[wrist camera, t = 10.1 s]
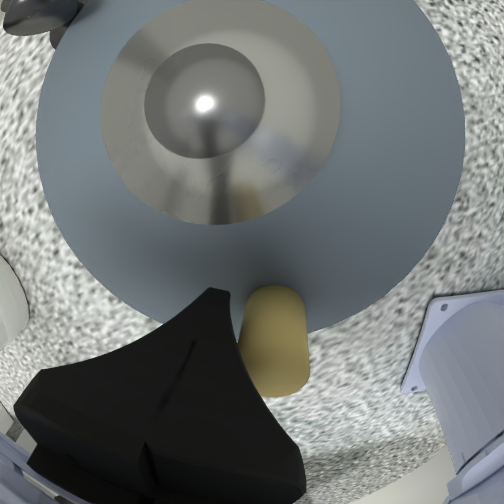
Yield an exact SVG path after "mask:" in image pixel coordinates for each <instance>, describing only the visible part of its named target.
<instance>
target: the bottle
mask: <svg viewBox="0 0 504 504" xmlns="http://www.w3.org/2000/svg"><path fill="white" fill-rule="evenodd" d="M28 320H29V310H28V303H27V300H26V297H25V293H24V291H23V289H22V286H21V284H20V282H19V280H18V278H17V276H16V275H15V273H14V272H13V270H12V268H11V267H10V265H9V264H8V263H7V262H6V261H5V260H4V258H3V257H2V256H1V255H0V352H1V351H2V350H3V349H4V348H5V347H6V346H7V345H9V344H10V343H11V342H12V341H13V340H14V339H15V338H16V337H17V336H18V335H19V332H20V331H21V330H22V329H23V328H24V327H25V326H27V323H28Z"/></svg>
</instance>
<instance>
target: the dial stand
mask: <svg viewBox="0 0 504 504" xmlns="http://www.w3.org/2000/svg"><path fill="white" fill-rule="evenodd" d="M88 1H89V0H3V1H2V4H1V10H2V11H3V12H6V13H5V18H4V22H3V28H4V30H5V31H6V32H7V33H9V34H11V35H16V36H29V35H36V34H40V33H44V32H48V31H50V42H51V45H52V46H53V48H54V49H55V50H56V48H57V46H58V45H59V43H60V41H61V39H62V37H63V36H64V34H65V32H66V30H67V29H68V27H69V26H70V24H71V23H72V21H73V20H74V19H75V17H76V16H77V15H78V13H79V12H80V11H81V9H82V8H83V7H84V6H85V4H86V3H87V2H88Z"/></svg>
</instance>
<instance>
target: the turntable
mask: <svg viewBox="0 0 504 504" xmlns="http://www.w3.org/2000/svg"><path fill="white" fill-rule="evenodd" d="M187 1H191V0H89V1H88V2H87V3H86V4H85V6H84V7H83V8H82V9H81V11H80V12H79V13H78V15H77V16H76V17H75V19H74V20H73V21H72V23H71V24H70V26H69V27H68V29H67V30H66V32H65V34H64V36H63V37H62V39H61V41H60V43H59V45H58V46H57V48H56V50H55V53H54V55H53V57H52V60H51V62H50V65H49V67H48V70H47V72H46V76H45V79H44V83H43V86H42V90H41V94H40V99H39V105H38V113H37V121H36V151H37V160H38V169H39V174H40V178H41V182H42V187H43V191H44V194H45V197H46V200H47V203H48V205H49V208H50V211H51V213H52V216H53V218H54V220H55V222H56V224H57V226H58V228H59V230H60V232H61V234H62V236H63V237H64V239H65V241H66V242H67V244H68V245H69V247H70V248H71V250H72V251H73V252H74V254H75V255H76V257H77V258H78V259H79V261H80V262H81V263H82V264H83V265H84V266H85V268H86V269H87V270H88V271H89V272H90V273H91V274H92V276H93V277H94V278H96V279H97V280H98V281H99V282H100V283H101V284H102V285H103V286H104V287H105V288H106V289H108V290H109V291H110V292H111V293H112V294H114V295H115V296H116V297H118V298H119V299H120V300H122V301H123V302H125V303H126V304H127V305H129V306H130V307H132V308H133V309H135V310H137V311H139V312H141V313H142V314H144V315H146V316H148V317H150V318H152V319H154V320H156V321H158V322H161V323H163V324H164V323H166V322H167V321H169V320H170V319H171V318H173V317H174V316H176V315H177V314H178V313H179V312H181V311H182V310H183V309H184V308H186V307H187V306H188V305H189V304H190V303H192V302H193V301H194V300H195V299H196V298H197V297H198V296H199V295H201V294H202V293H203V292H204V291H205V290H206V289H207V288H209V287H213V288H217V289H221V290H226V291H229V292H230V294H231V298H230V313H231V320H232V325H233V330H234V334H235V338H236V340H237V341H238V343H237V345H238V348H239V351H240V354H241V357H242V359H243V362H244V364H245V367H246V369H247V371H248V373H249V375H250V378H251V380H252V382H253V384H254V386H255V387H256V389H257V391H258V392H259V394H260V396H263V397H282V396H286V395H290V394H292V393H295V392H296V391H298V390H300V389H301V388H302V387H303V386H304V385H305V384H306V383H307V381H308V379H309V376H310V364H309V351H308V339H307V333H310V332H313V331H316V330H319V329H322V328H325V327H328V326H331V325H334V324H336V323H338V322H340V321H342V320H344V319H346V318H348V317H350V316H352V315H354V314H356V313H358V312H360V311H362V310H363V309H365V308H366V307H368V306H370V305H371V304H373V303H374V302H376V301H377V300H379V299H380V298H381V297H383V296H384V295H385V294H387V293H388V292H389V291H390V290H391V289H392V288H394V287H395V286H396V285H397V284H398V283H399V282H400V281H402V280H403V279H404V278H405V277H406V276H407V275H408V274H409V272H410V271H411V270H412V269H413V268H414V267H415V266H416V264H417V263H418V262H419V261H420V260H421V259H422V257H423V256H424V255H425V253H426V252H427V251H428V249H429V248H430V246H431V244H432V243H433V241H434V240H435V238H436V237H437V235H438V234H439V232H440V230H441V228H442V226H443V224H444V222H445V220H446V218H447V215H448V213H449V211H450V209H451V207H452V204H453V201H454V198H455V195H456V191H457V188H458V185H459V181H460V177H461V172H462V165H463V158H464V151H465V117H464V110H463V103H462V97H461V92H460V87H459V84H458V80H457V77H456V74H455V71H454V68H453V65H452V62H451V59H450V57H449V55H448V53H447V51H446V49H445V47H444V45H443V43H442V41H441V39H440V37H439V35H438V33H437V32H436V30H435V29H434V27H433V26H432V24H431V23H430V21H429V20H428V18H427V17H426V16H425V14H424V13H423V11H422V10H421V9H420V8H419V6H418V5H417V4H416V3H415V2H414V1H413V0H261V1H264V2H267V3H270V4H273V5H275V6H277V7H279V8H281V9H283V10H285V11H287V12H289V13H290V14H292V15H293V16H294V17H296V18H297V19H299V20H300V21H301V22H302V23H304V24H305V25H306V26H307V27H308V28H309V29H310V30H311V31H312V32H313V33H314V34H315V36H316V37H317V38H318V39H319V41H320V42H321V43H322V45H323V46H324V48H325V50H326V51H327V53H328V55H329V57H330V59H331V61H332V64H333V66H334V69H335V72H336V75H337V79H338V84H339V88H340V102H341V107H340V119H339V125H338V129H337V133H336V137H335V140H334V143H333V145H332V148H331V150H330V153H329V155H328V156H327V158H326V160H325V162H324V164H323V165H322V167H321V168H320V170H319V171H318V172H317V174H316V175H315V176H314V178H313V179H312V180H311V181H310V182H309V183H308V184H307V185H306V186H305V187H304V188H303V190H302V191H301V192H299V193H298V194H297V195H296V196H294V197H293V198H292V199H291V200H289V201H288V202H287V203H285V204H283V205H282V206H280V207H278V208H277V209H275V210H273V211H271V212H269V213H267V214H264V215H262V216H260V217H257V218H254V219H251V220H247V221H244V222H239V223H233V224H227V225H203V224H194V223H189V222H185V221H180V220H177V219H175V218H172V217H169V216H166V215H164V214H162V213H160V212H158V211H156V210H154V209H153V208H151V207H150V206H148V205H147V204H145V203H144V202H143V201H141V200H140V199H139V198H138V197H137V196H136V195H135V194H133V193H132V192H131V191H130V189H129V188H128V187H127V186H126V185H125V184H124V183H123V181H122V180H121V178H120V177H119V176H118V174H117V173H116V171H115V169H114V167H113V165H112V163H111V161H110V159H109V157H108V154H107V151H106V148H105V145H104V141H103V136H102V131H101V118H100V115H101V101H102V95H103V90H104V86H105V83H106V80H107V77H108V74H109V72H110V70H111V67H112V65H113V63H114V61H115V60H116V58H117V56H118V55H119V53H120V51H121V50H122V48H123V47H124V46H125V45H126V43H127V42H128V41H129V39H130V38H131V37H132V36H133V35H134V34H135V33H136V32H137V31H138V30H139V29H140V28H141V27H143V26H144V25H145V24H146V23H148V22H149V21H150V20H151V19H153V18H154V17H156V16H157V15H159V14H161V13H162V12H164V11H166V10H168V9H170V8H172V7H174V6H176V5H179V4H181V3H184V2H187Z"/></svg>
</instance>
